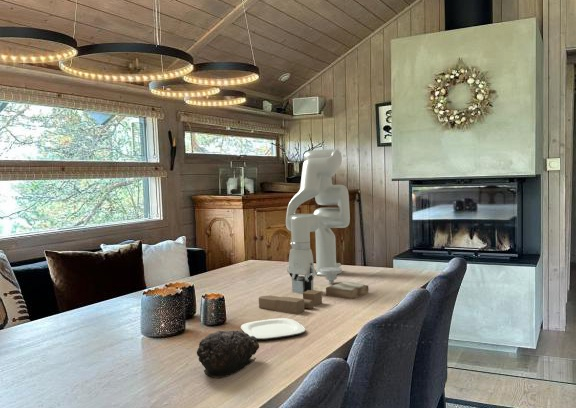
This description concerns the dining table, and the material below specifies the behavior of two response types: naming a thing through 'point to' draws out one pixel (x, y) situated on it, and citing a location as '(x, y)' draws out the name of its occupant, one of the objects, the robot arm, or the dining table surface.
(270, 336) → the plate
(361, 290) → the stand
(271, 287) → the dining table surface
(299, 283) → the housing
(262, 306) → the wooden block set
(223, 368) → the pine cone
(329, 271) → the showerhead
